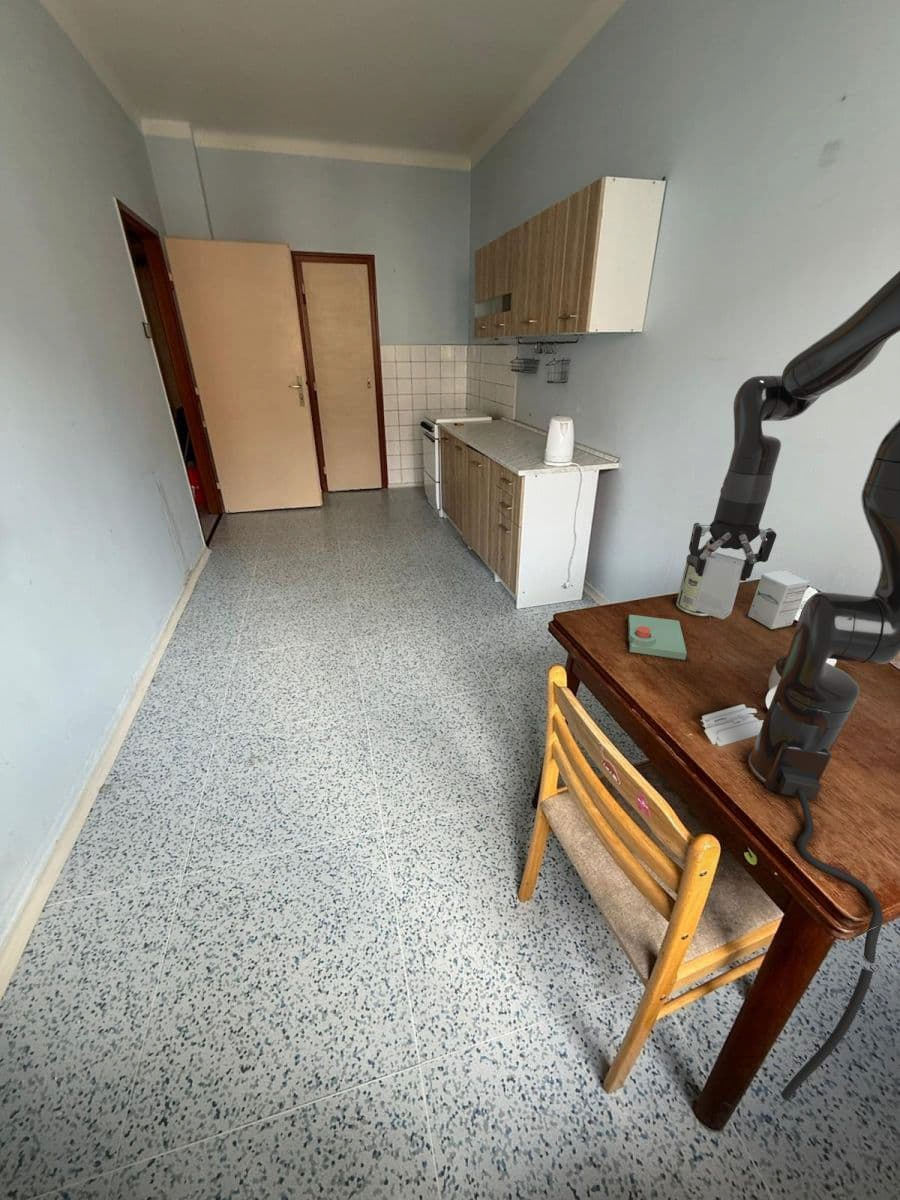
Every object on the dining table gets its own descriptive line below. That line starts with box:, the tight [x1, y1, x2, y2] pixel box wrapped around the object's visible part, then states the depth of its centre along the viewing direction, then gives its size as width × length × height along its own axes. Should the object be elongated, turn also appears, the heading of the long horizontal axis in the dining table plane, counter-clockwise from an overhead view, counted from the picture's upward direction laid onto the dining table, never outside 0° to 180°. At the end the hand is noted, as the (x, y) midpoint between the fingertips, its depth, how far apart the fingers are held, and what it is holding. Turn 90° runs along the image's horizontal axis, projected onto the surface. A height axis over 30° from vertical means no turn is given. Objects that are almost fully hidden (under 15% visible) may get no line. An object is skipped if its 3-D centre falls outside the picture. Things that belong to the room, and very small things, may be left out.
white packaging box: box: [747, 569, 810, 630], centre depth 119 cm, size 7×7×13 cm
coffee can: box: [675, 553, 712, 617], centre depth 126 cm, size 10×10×14 cm
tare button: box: [636, 626, 651, 639], centre depth 111 cm, size 3×3×2 cm
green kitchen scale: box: [627, 614, 688, 661], centre depth 115 cm, size 15×12×4 cm
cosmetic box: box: [694, 551, 746, 620], centre depth 95 cm, size 6×4×12 cm
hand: (720, 576), depth 94 cm, fingers closed on cosmetic box, 7 cm apart
